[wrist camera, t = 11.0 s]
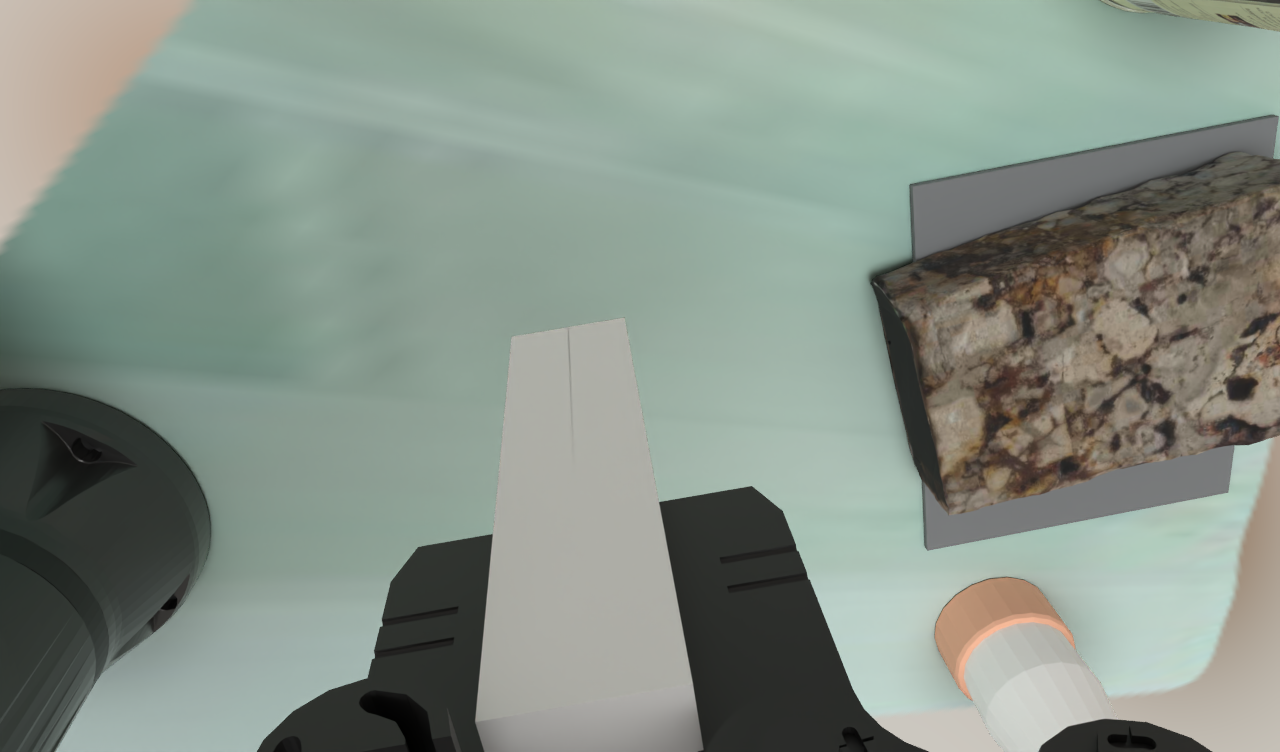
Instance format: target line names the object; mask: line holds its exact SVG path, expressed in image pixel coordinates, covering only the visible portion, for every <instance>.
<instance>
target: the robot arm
mask: <svg viewBox="0 0 1280 752" xmlns="http://www.w3.org/2000/svg"><path fill="white" fill-rule="evenodd" d="M209 545H210V520H209V514H208V510H207V506H206V503H205V500H204V497H203V494H202V492H201V490H200V488H199V486H198V484H197V482H196V480H195V478H194V477H193V475H192V473H191V472H190V470H189V469H188V468H187V466H186V465H185V463H184V462H183V461H182V460H181V459H180V457H179V456H178V455H177V454H176V453H175V452H174V451H173V450H172V449H171V448H170V447H169V446H168V445H167V444H166V443H165V442H164V441H163V440H162V439H161V438H159V437H158V436H157V435H156V434H154V433H153V432H152V431H151V430H149V429H148V428H146V427H145V426H144V425H142V424H140V423H139V422H137V421H136V420H134V419H132V418H131V417H129V416H127V415H125V414H123V413H122V412H119V411H117V410H115V409H113V408H111V407H109V406H106V405H104V404H101V403H99V402H96V401H93V400H90V399H87V398H84V397H80V396H77V395H73V394H68V393H64V392H57V391H51V390H42V389H8V390H0V752H56V750H57V748H58V747H59V745H60V743H61V741H62V740H63V738H64V736H65V734H66V733H67V731H68V729H69V728H70V726H71V724H72V722H73V721H74V719H75V717H76V715H77V714H78V712H79V710H80V708H81V707H82V705H83V703H84V702H85V700H86V698H87V696H88V695H89V693H90V691H91V689H92V688H93V686H94V684H95V683H96V681H97V679H98V678H99V677H100V675H101V673H103V672H104V671H105V670H107V669H108V668H109V667H110V666H112V665H113V664H114V663H116V662H117V661H118V660H119V659H121V658H122V657H123V656H125V655H126V654H127V653H128V652H130V651H131V650H132V649H133V648H135V647H136V646H137V645H139V644H140V643H141V642H142V641H144V640H145V639H146V638H148V637H149V636H150V635H151V634H153V633H154V632H155V631H156V630H158V629H159V628H160V627H162V626H163V625H164V624H165V623H166V622H167V621H168V620H169V619H170V618H171V617H172V616H173V615H174V614H175V613H176V612H177V610H178V609H179V608H180V607H181V605H182V604H183V603H184V601H185V600H186V598H187V596H188V595H189V593H190V591H191V589H192V587H193V586H194V584H195V582H196V580H197V578H198V576H199V575H200V573H201V571H202V569H203V567H204V564H205V561H206V558H207V555H208V551H209ZM382 622H383V627H380V629H379V633H378V637H377V642H376V646H375V650H374V652H375V659H372V662H371V666H370V671H369V675H368V679H364V680H360V681H357V682H354V683H351V684H348V685H344V686H341V687H338V688H335V689H332V690H329V691H327V692H325V693H324V694H322V695H320V696H318V697H317V698H315V699H313V700H312V701H310V702H308V703H307V704H305V705H303V706H302V707H300V708H298V709H296V710H295V711H293V712H292V713H291V714H290V715H289V716H288V717H287V718H286V719H285V720H284V721H283V722H282V723H281V724H280V725H279V726H278V727H277V728H276V729H274V730H273V731H272V732H271V733H270V734H269V735H268V736H267V737H266V738H265V739H264V740H263V742H262V744H261V746H260V747H259V749H258V751H257V752H928V751H926V750H923V749H921V748H918V747H916V746H913V745H911V744H908V743H906V742H904V741H902V740H901V739H899V738H898V737H896V736H895V735H893V734H892V733H890V732H889V731H887V730H885V729H884V728H882V727H881V726H880V725H879V724H878V723H877V722H876V721H875V720H874V719H873V718H872V717H871V716H870V715H869V714H868V713H867V712H866V711H865V710H864V708H863V706H862V705H861V703H860V701H859V700H858V698H857V696H856V694H855V693H854V691H853V689H852V686H851V684H850V681H849V679H848V676H847V674H846V671H845V668H844V666H843V663H842V661H841V658H840V656H839V653H838V651H837V648H836V646H835V643H834V641H833V638H832V635H831V633H830V630H829V628H828V625H827V623H826V620H825V618H824V615H823V613H822V610H821V607H820V605H819V602H818V600H817V597H816V595H815V592H814V590H813V587H812V585H811V582H810V580H808V577H807V572H806V569H805V567H804V564H803V562H802V559H801V557H800V554H799V552H798V551H797V549H796V544H795V541H794V539H793V536H792V534H791V531H790V529H789V526H788V524H787V521H786V519H785V516H784V513H783V511H782V510H781V509H779V508H778V507H777V506H776V505H774V504H773V503H772V502H771V501H770V500H768V499H767V498H766V497H765V496H763V495H762V494H761V493H760V492H758V491H757V490H756V489H755V488H753V487H752V486H750V487H744V488H739V489H733V490H727V491H721V492H715V493H710V494H704V495H698V496H692V497H686V498H681V499H675V500H669V501H663V502H659V500H658V494H657V489H656V484H655V478H654V473H653V468H652V462H651V457H650V451H649V446H648V441H647V435H646V430H645V425H644V419H643V414H642V409H641V403H640V398H639V392H638V387H637V382H636V376H635V371H634V366H633V360H632V355H631V350H630V344H629V339H628V334H627V328H626V323H625V317H624V318H618V319H612V320H606V321H601V322H595V323H589V324H583V325H577V326H571V327H565V328H559V329H553V330H548V331H542V332H536V333H530V334H524V335H518V336H512V338H511V348H510V359H509V369H508V380H507V390H506V401H505V412H504V422H503V433H502V443H501V454H500V464H499V475H498V486H497V496H496V507H495V517H494V528H493V534H491V535H485V536H480V537H474V538H468V539H462V540H456V541H451V542H445V543H439V544H433V545H427V546H422V547H418V548H417V549H416V551H415V552H414V553H413V555H412V556H411V557H410V558H409V560H408V561H407V562H406V563H405V565H404V566H403V567H402V569H401V570H400V571H399V572H398V574H397V575H396V576H395V578H394V579H393V580H392V581H391V584H390V588H389V592H388V596H387V600H386V604H385V609H384V613H383V617H382ZM1038 752H1212V751H1210V750H1209V749H1207V748H1206V747H1204V746H1203V745H1201V744H1199V743H1198V742H1196V741H1195V740H1193V739H1192V738H1189V737H1187V736H1184V735H1181V734H1178V733H1175V732H1173V731H1170V730H1167V729H1164V728H1162V727H1158V726H1156V725H1153V724H1150V723H1147V722H1136V721H1126V720H1115V719H1100V720H1095V721H1091V722H1086V723H1081V724H1077V725H1072V726H1068V727H1066V728H1065V729H1063V730H1062V731H1061V732H1059V733H1058V734H1056V735H1055V736H1054V737H1052V738H1051V739H1049V740H1048V741H1046V742H1045V743H1044V744H1042V745H1041V747H1040V749H1039V751H1038Z"/></svg>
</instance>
